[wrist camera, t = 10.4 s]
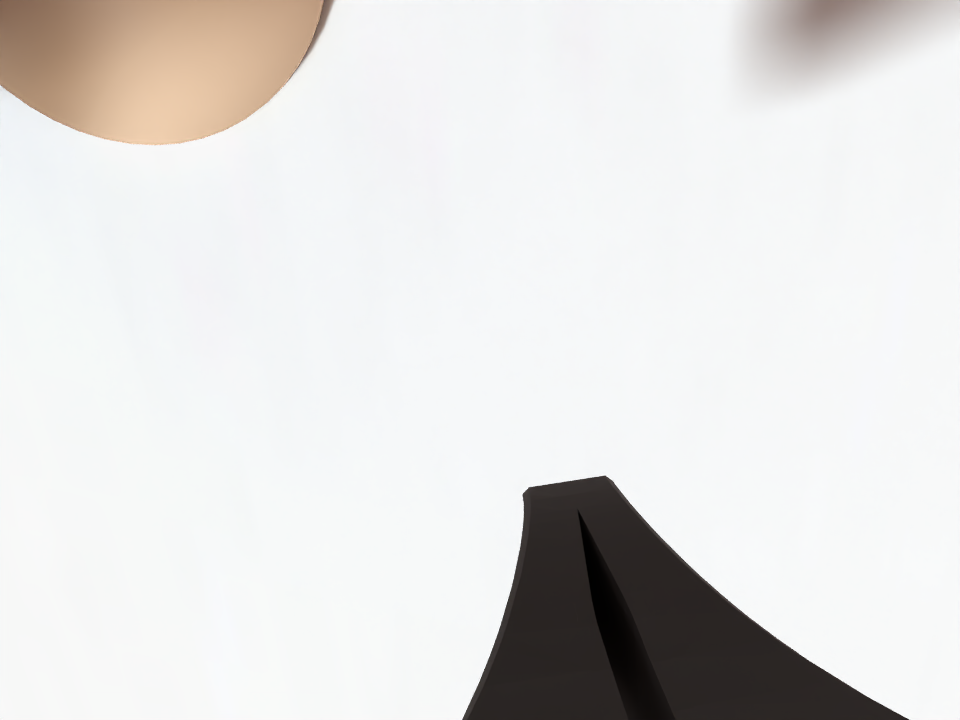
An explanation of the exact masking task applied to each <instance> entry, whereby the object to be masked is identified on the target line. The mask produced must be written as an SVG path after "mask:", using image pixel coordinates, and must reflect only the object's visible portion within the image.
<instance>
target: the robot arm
mask: <svg viewBox="0 0 960 720" xmlns="http://www.w3.org/2000/svg"><path fill="white" fill-rule="evenodd" d="M523 501H524V522H523V531H522V539H521V546H520V551H519V556H518V561H517V566H516V571H515V575H514V580H513V584H512V588H511V592H510V595H509V598H508V602H507V605H506V609H505V612H504V616H503V619H502V622H501V626H500V629H499V632H498V635H497V638H496V640H495V643H494V646H493V649H492V652H491V654H490V657H489V659H488V662H487V664H486V667H485V669H484V672H483V674H482V677H481V679H480V682H479V684H478V686H477V688H476V691H475V693H474V695H473V697H472V699H471V702H470V704H469V706H468V708H467V710H466V713H465V715H464V717H463V719H462V720H909V719H907V718H905V717H903V716H901V715H900V714H898V713H896V712H894V711H892V710H890V709H889V708H887V707H885V706H883V705H881V704H879V703H877V702H876V701H874V700H872V699H870V698H869V697H867V696H865V695H863V694H862V693H860V692H859V691H857V690H855V689H854V688H852V687H851V686H849V685H847V684H846V683H844V682H842V681H841V680H839V679H838V678H836V677H834V676H833V675H831V674H830V673H828V672H826V671H825V670H823V669H821V668H820V667H818V666H817V665H815V664H813V663H812V662H810V661H809V660H807V659H806V658H804V657H803V656H801V655H800V654H798V653H797V652H796V651H794V650H793V649H791V648H790V647H788V646H787V645H786V644H784V643H783V642H781V641H780V640H778V639H777V638H776V637H774V636H773V635H772V634H770V633H769V632H768V631H766V630H765V629H764V628H762V627H761V626H760V625H758V624H757V623H756V622H754V621H753V620H752V619H750V618H749V617H748V616H747V615H745V614H744V613H743V612H742V611H740V610H739V609H738V608H737V607H736V606H734V605H733V604H732V603H731V602H730V601H728V600H727V599H726V598H725V597H724V596H722V595H721V594H720V593H719V592H718V591H717V590H716V589H714V588H713V587H712V586H711V585H710V584H709V583H708V582H707V581H705V580H704V579H703V578H702V577H701V576H700V575H699V574H698V573H697V572H696V571H694V570H693V569H692V568H691V567H690V566H689V565H688V564H687V563H686V562H685V561H684V560H683V559H682V558H681V557H680V556H679V555H678V554H677V553H676V552H675V551H674V550H673V549H672V548H671V547H670V546H669V545H668V544H667V543H666V542H665V541H664V540H663V539H662V538H661V537H660V536H659V535H658V534H657V533H656V532H655V531H654V530H653V529H652V528H651V526H650V525H649V524H648V523H647V522H646V521H645V520H644V519H643V518H642V516H641V515H640V514H639V513H638V512H637V511H636V510H635V508H634V507H633V506H632V505H631V504H630V503H629V501H628V500H627V499H626V498H625V496H624V495H623V494H622V493H621V491H620V490H619V489H618V488H617V486H616V485H615V484H614V482H613V481H612V480H611V479H609V478H608V477H606V476H600V477H593V478H587V479H580V480H574V481H567V482H561V483H555V484H548V485H542V486H535V487H529V488H528V489H527V490H526V491H525V492H524V493H523Z"/></svg>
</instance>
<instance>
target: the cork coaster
mask: <svg viewBox="0 0 960 720" xmlns="http://www.w3.org/2000/svg"><path fill="white" fill-rule="evenodd" d="M323 2H324V0H0V85H1V86H2V87H4V88H5V89H6V90H7V91H9V92H10V93H12V94H13V95H14V96H16V97H17V98H19V99H20V100H21V101H23V102H24V103H26V104H27V105H28V106H30V107H32V108H33V109H35V110H37V111H39V112H40V113H42V114H44V115H46V116H47V117H49V118H51V119H53V120H55V121H57V122H59V123H61V124H64V125H66V126H68V127H71V128H73V129H75V130H78V131H80V132H83V133H86V134H90V135H93V136H96V137H100V138H103V139H107V140H112V141H118V142H123V143H129V144H144V145H164V144H177V143H183V142H188V141H193V140H197V139H202V138H205V137H208V136H210V135H213V134H216V133H218V132H221V131H224V130H226V129H228V128H230V127H232V126H233V125H235V124H237V123H239V122H241V121H243V120H244V119H246V118H247V117H249V116H250V115H251V114H253V113H254V112H255V111H257V110H258V109H259V108H261V107H262V106H263V105H265V104H266V103H267V102H268V101H269V100H270V99H271V98H272V97H273V96H274V95H275V94H276V93H277V92H278V91H279V90H280V89H281V88H282V87H283V86H284V85H285V84H286V82H287V81H288V80H289V78H290V77H291V76H292V74H293V73H294V72H295V70H296V69H297V67H298V66H299V64H300V63H301V61H302V59H303V57H304V55H305V53H306V51H307V49H308V48H309V46H310V44H311V41H312V38H313V36H314V33H315V30H316V28H317V25H318V22H319V20H320V15H321V11H322V7H323Z"/></svg>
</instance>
